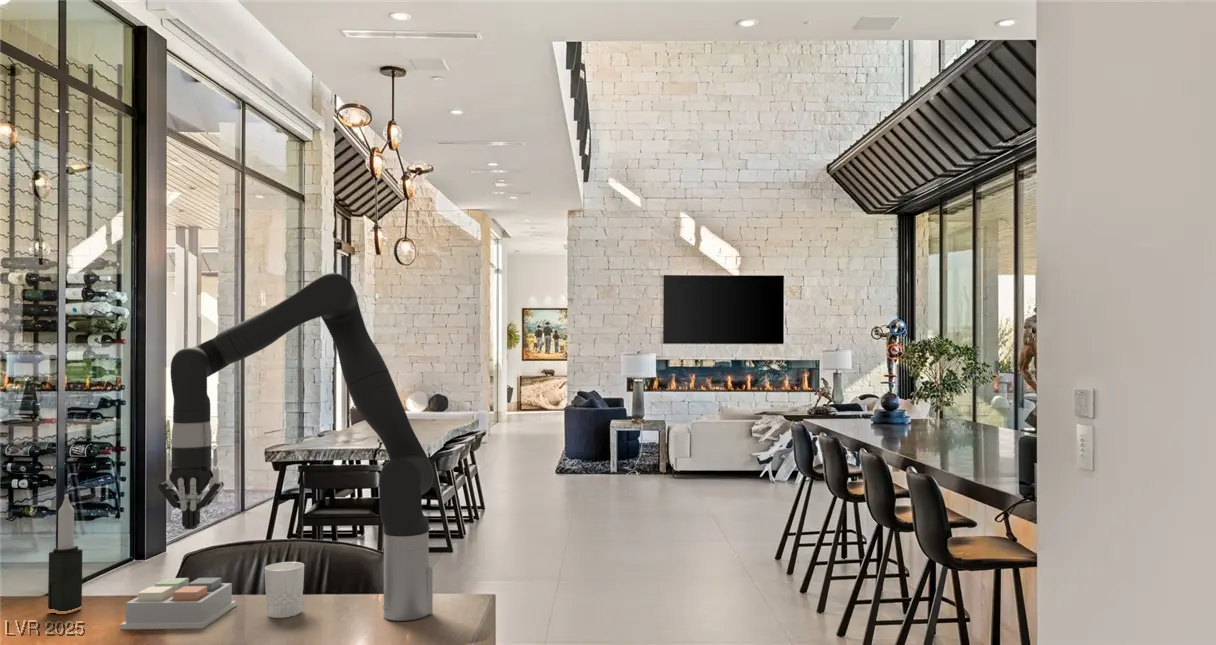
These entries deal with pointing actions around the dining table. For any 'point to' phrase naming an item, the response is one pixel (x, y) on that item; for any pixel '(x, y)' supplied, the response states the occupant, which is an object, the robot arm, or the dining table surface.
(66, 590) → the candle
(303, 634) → the dining table surface
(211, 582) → the key slate
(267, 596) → the white cup
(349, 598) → the dining table surface
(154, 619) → the keypad
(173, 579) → the key sage
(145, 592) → the key cream
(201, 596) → the key terracotta
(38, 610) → the dining table surface
